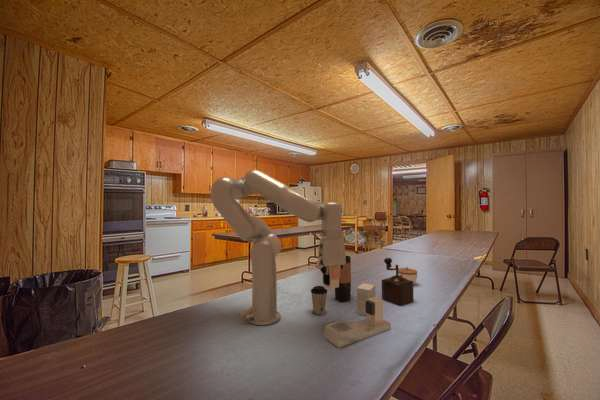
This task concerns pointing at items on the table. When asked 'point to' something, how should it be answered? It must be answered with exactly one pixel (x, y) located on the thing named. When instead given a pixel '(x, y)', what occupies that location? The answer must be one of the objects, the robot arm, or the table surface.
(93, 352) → the table surface
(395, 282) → the manual coffee grinder
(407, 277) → the lidded jar
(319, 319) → the table surface
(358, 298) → the small box
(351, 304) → the table surface
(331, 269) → the beige orange block
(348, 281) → the travel mug
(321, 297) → the coffee cup
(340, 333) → the rail
